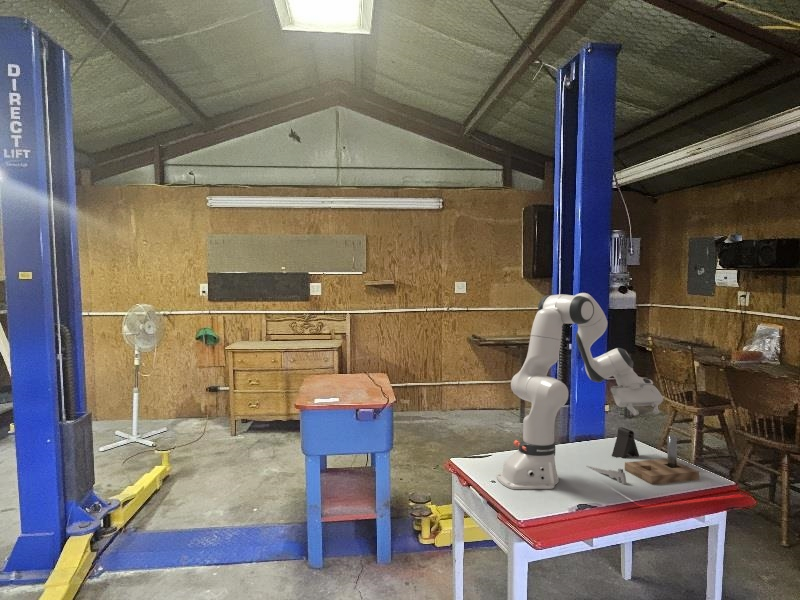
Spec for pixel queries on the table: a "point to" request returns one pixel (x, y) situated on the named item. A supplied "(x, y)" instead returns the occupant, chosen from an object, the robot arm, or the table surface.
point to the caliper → (612, 474)
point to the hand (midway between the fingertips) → (647, 414)
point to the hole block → (661, 471)
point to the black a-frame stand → (625, 444)
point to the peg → (672, 451)
